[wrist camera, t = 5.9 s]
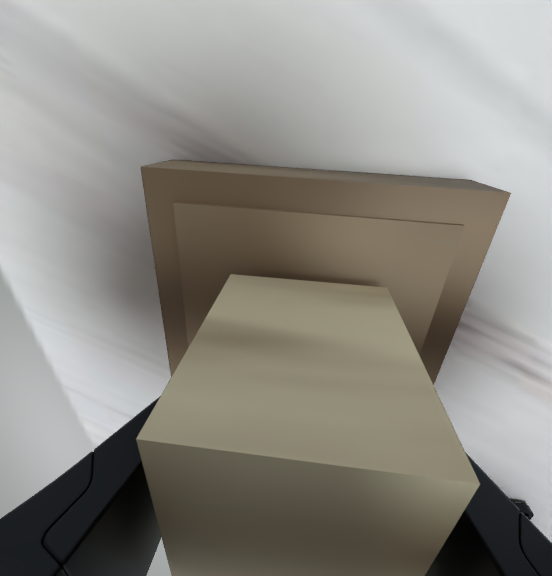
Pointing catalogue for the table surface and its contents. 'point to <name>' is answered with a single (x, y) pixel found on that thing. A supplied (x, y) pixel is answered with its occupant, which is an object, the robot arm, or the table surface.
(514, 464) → the table surface
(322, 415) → the oak block
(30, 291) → the table surface
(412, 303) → the base board
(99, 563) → the robot arm
